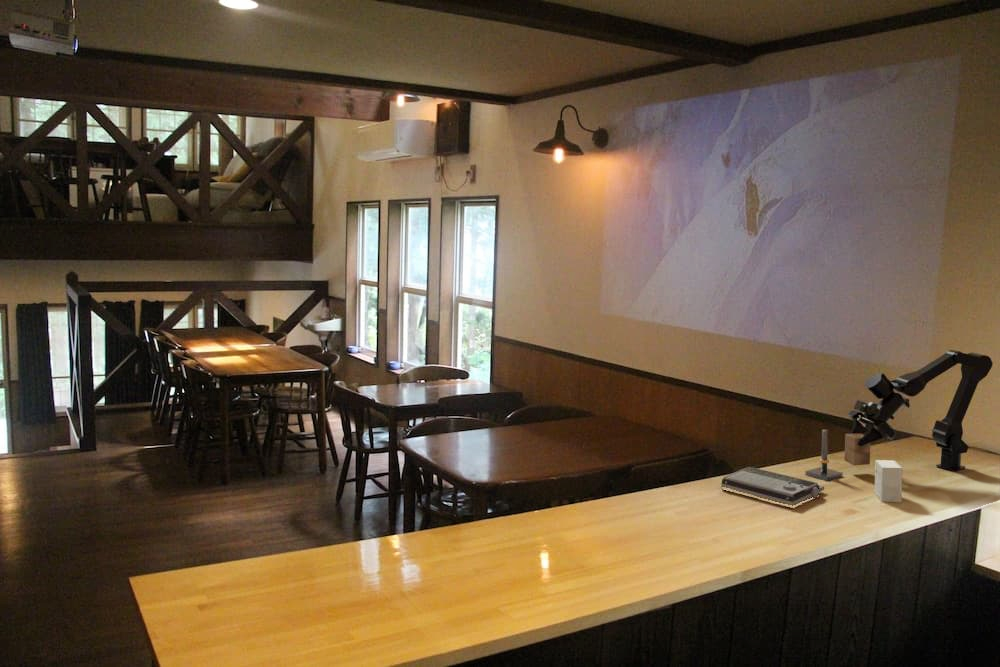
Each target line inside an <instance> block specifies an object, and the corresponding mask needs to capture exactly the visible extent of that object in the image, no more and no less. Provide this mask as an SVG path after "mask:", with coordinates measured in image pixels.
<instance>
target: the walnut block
mask: <svg viewBox="0 0 1000 667" xmlns="http://www.w3.org/2000/svg"><path fill="white" fill-rule="evenodd" d="M864 435H865V433H864V434H862V433H854V434H850V433H845V434H844V461H845V462H847V463H848V464H850V465H852V466H866V465H868V466H869V465H870V464H871V443H872V442H871V443H868V444H866V445H863V446H859V445H858V443H859V441H860V440H861V439H862V437H863V436H864Z"/></svg>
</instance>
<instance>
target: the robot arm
mask: <svg viewBox="0 0 1000 667" xmlns="http://www.w3.org/2000/svg"><path fill="white" fill-rule="evenodd" d="M958 364H960V365H961V366H960V371H961V378H960V381H959V384H958V386H957V389H956V391H955V394H954V396H953V398H952V401H951V403H950V405H949V408H948V410H947V413H946V415H945V417H944V418H942V419H941V420H938V419H937V420H935V423H934V426H933V428H932V429H931V432H932V434H931V437H932V439H933V441H934V442H935V446H936V447H938V448H941V450H940V451H941V452H940V454H941V455H940V463H939V464H936V465H935V467H936V466H937V467H936V468H939V467H941V468H940V469H943V468H944V469H945V470H948V471H951V472H952V471H953V472H958V471H960V470H963V469H965V468H966V465H961V464H962V454H964V453H965V454H966V453H968V450H969V445H968V444H967V443H966V442H965V441H964V440H963V435H964V430H963V428H964V427H963V422H964V421H963V420H964V418H965V416H966V415H967V414H966V413H967V411H968V409H969V407H970V404H971V402H972V399H973V397H974V395H975V392H976V390H977V387H978V385H979V383H980V382H981V381H982V380H984V378H986V377H987V376H988V374H989V373H990V371H991V369H992V368H993V364H994V363H993V361H992V358H991V357H990V356H988V355H986V354H980V353H977V352H968V353H965V352H962V351H959V350H954V349H949V350H947V351H945V353H944V354H942V355H940V356H938V358H935V359H934V360H932V361H931V362H929V363H928V364H926V365H924V366H923V367H921V368H920V369H918V370H916V371H912V372H908V373H905V374H902V375H900V376H897V378H895V379H894V380H893V379H891V380H890V379H888V377H887V376H886V374H885V373H883V372H878V373H877V374H875V375H873V376H870V377H869V378H867V379H866V381H865V383H864V387H865V388H866V389H867V390H868V391H869V392H870V393H871V394H872V395H873V396H874V397H875V398H876V399H878V400H880V401H878V403H876V402H872V401H869V402H868V403H867V402H864V401H862V400H859V399H857V400H856V402H855V404H854V406H853V409H852V410H851V411H850V412H849V413H848V414H847V415H848V417H850V418H851V420H852V424H853V425H852V427H851V429H850V433H849V434H854V433H862V434H864V436H863V437H862V439H861V440H860V441H859V443H858V445H859V446H863V445H866V444H868V443H873V442H876V441H879V440H884V439H889V440H893V439H894V438H895V437H896V433H897V431H896V430H895V429H894V428H893V427H892V426H891V425H890V424H889V422H888V421H889V420H894V419H895V417H894V415H895V414H896V413H897V412H898V410H900V408H901V407H902V406H903V407H906V408H910V399H909V398H907V397H913V398H914V397H916V396H917V395H919V394H920V393H921V392H922V391H924V389H925V388H926V386H927V384H929V383H930V381H931V382H932V380H934V379H935V378H937V377H940V375H942V374H943V373H945V372H947V371H948V370H949V369H950V370H951V368H953V367H955V366H956V365H958ZM903 395H904V396H907V397H904V396H903ZM944 469H943V470H944Z"/></svg>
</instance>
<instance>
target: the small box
mask: <svg viewBox="0 0 1000 667" xmlns="http://www.w3.org/2000/svg"><path fill="white" fill-rule="evenodd" d="M902 492H903V467H902V466H901V465H900V464H899V463H898V462H897V461H896V460H890V459H889V460H884V459H883V460H882V459H877V460H875V464H874V494H875V496H876V497H877V496H878V497H877V498H878V499H879V500H880V501H881V502H883V503H902V495H903V494H902Z"/></svg>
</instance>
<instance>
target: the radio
mask: <svg viewBox="0 0 1000 667" xmlns="http://www.w3.org/2000/svg"><path fill="white" fill-rule="evenodd" d="M722 487H726V488H730V489H733V490H736V491H739V492H743V493H747V494H751V495H754V496H757V497H760V498H764V499H768V500H772V501H775V502H779V503H783V504H788V505H792V506H793V505H796V504H798V503H800V502H802V501H805V500H807V499H810V498H812V497H813V498H815V499H817V498H818V497H817V496H818V495H819V496H820V492H822V491H825V485H823V484H822V485H821V484H820V485H819V483H818V482H816V481H812V480H807V479H802V478H798V477H795V476H791V475H790V476H789V475H787V474H781V473H777V472H773V471H768V470H765V469H761V468H757V467H751V466H748V467H745V468H742V469H739V470H737V471H735V472H732V473H730V474H729V473H728V474H727V475H724V476H723V478H722V479H721V488H722ZM816 497H817V498H816Z"/></svg>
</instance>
